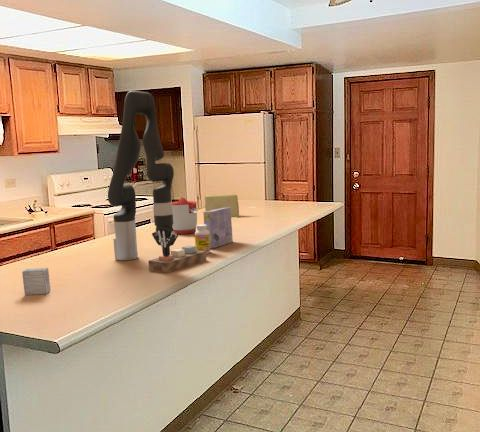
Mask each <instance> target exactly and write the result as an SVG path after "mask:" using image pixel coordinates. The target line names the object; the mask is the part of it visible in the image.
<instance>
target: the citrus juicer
mask: <svg viewBox="0 0 480 432" xmlns="http://www.w3.org/2000/svg"><path fill="white" fill-rule="evenodd" d="M171 203H172V209H173V225H172V227H173V230H174V231H173V232H174V233H175V234H178V235H181V234H182V235H187V234H193V233H195V232H196V231H197V225H198V213H199V210H198V209H197V208H198V207H197V205H198V204H197V203H198V202H197V201H195V200H187V199H186V198H184V197H183V196H182V197H181V198H180V199H178V201H173V202H172V201H171Z"/></svg>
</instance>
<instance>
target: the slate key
mask: <svg viewBox="0 0 480 432" xmlns="http://www.w3.org/2000/svg"><path fill="white" fill-rule="evenodd" d="M181 249H184V251H185V254H192V253H195V252H196V246H195V245H185V246H182V248H181Z"/></svg>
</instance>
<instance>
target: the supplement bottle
mask: <svg viewBox="0 0 480 432" xmlns="http://www.w3.org/2000/svg"><path fill="white" fill-rule="evenodd" d="M194 240H195V241H194V242H195V245H194V246H196V250H199V251H206V253H207V254H210V252H211V248H210V234H209V231H208V230H207V225H205V224H204V223H203V224H197V225H196V230H195V232H194Z"/></svg>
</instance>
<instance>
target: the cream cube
mask: <svg viewBox="0 0 480 432" xmlns="http://www.w3.org/2000/svg"><path fill="white" fill-rule="evenodd" d="M170 254H171V255H173V257H177V258H179V257H182V256H185V251H184V249H182V248H175V249H170Z"/></svg>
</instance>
